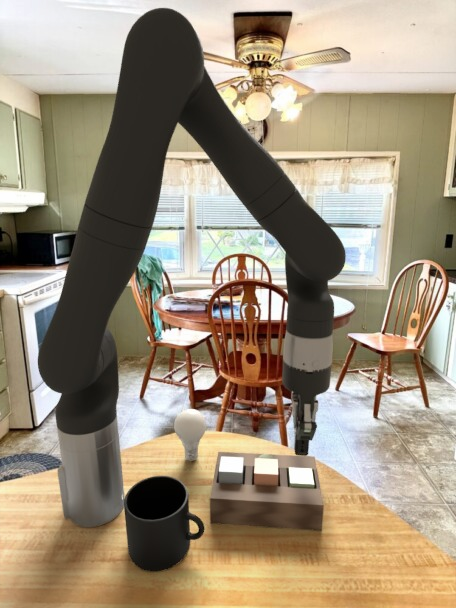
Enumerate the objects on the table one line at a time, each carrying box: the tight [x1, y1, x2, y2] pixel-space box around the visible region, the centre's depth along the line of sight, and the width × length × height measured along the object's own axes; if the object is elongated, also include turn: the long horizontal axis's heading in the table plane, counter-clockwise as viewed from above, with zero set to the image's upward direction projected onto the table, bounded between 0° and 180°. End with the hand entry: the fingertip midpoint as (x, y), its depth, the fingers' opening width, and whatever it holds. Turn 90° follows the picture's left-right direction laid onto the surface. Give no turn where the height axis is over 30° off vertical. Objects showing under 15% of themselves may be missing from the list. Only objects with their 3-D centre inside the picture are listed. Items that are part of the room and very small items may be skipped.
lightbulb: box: [173, 408, 207, 462], centre depth 80 cm, size 6×6×11 cm
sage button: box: [288, 467, 314, 488], centre depth 70 cm, size 4×4×4 cm
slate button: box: [219, 456, 244, 484], centre depth 70 cm, size 4×4×4 cm
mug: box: [123, 475, 206, 573], centre depth 61 cm, size 9×12×9 cm
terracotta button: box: [254, 458, 278, 486], centre depth 70 cm, size 4×4×4 cm
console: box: [209, 451, 325, 532], centre depth 70 cm, size 18×12×5 cm, turn 85°
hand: (301, 452), depth 68 cm, fingers closed
